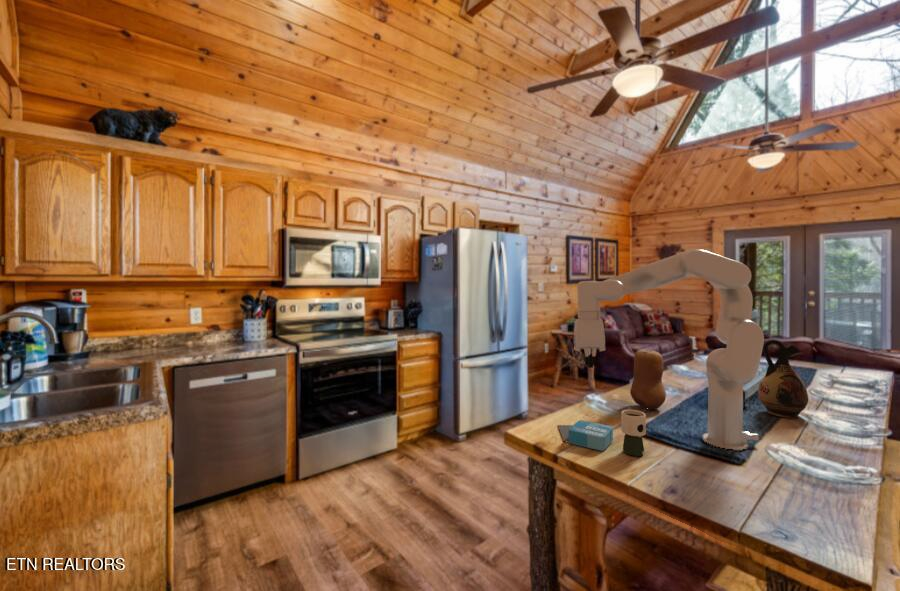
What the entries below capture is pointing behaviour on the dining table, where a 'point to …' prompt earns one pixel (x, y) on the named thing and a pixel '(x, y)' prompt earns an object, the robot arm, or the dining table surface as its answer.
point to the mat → (565, 431)
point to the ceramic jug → (782, 383)
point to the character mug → (633, 431)
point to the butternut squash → (648, 379)
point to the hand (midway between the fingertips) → (589, 367)
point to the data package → (591, 435)
